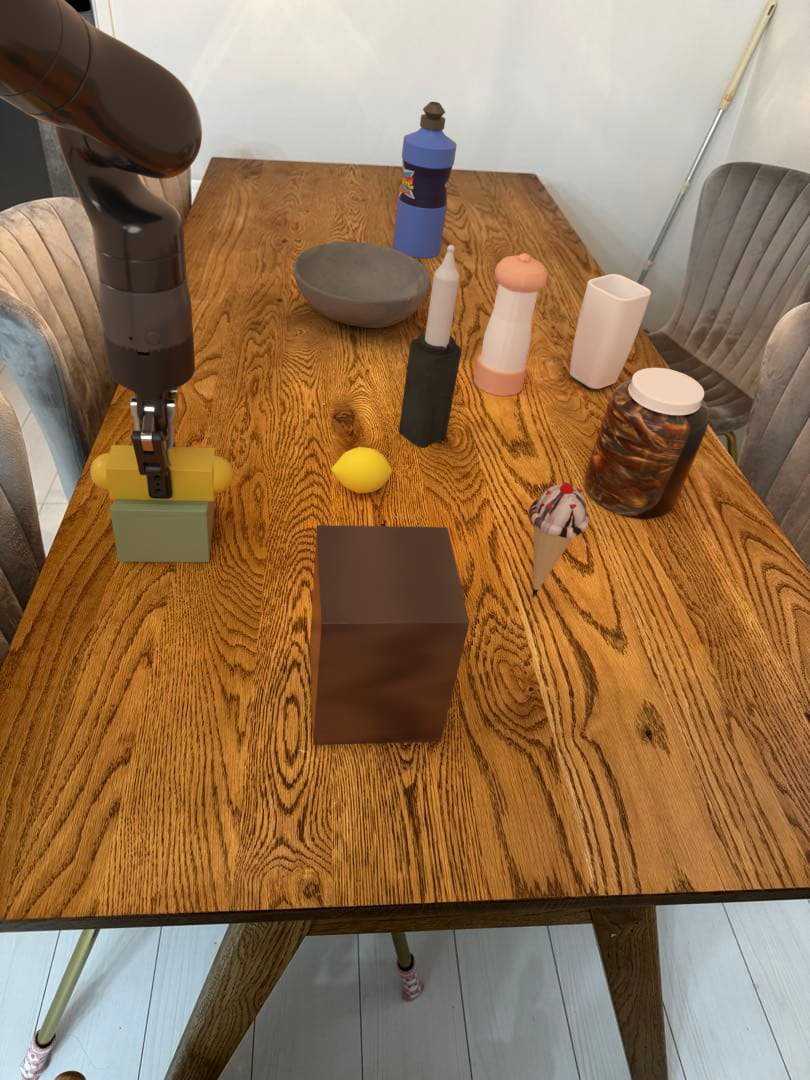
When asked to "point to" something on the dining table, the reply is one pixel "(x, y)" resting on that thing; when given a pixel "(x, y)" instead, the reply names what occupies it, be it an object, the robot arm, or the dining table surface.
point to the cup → (607, 329)
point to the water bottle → (424, 186)
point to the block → (162, 530)
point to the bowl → (361, 283)
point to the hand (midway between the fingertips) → (163, 481)
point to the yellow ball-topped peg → (190, 474)
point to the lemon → (362, 470)
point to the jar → (647, 443)
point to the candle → (433, 364)
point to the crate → (384, 634)
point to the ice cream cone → (555, 527)
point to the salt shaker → (510, 326)
